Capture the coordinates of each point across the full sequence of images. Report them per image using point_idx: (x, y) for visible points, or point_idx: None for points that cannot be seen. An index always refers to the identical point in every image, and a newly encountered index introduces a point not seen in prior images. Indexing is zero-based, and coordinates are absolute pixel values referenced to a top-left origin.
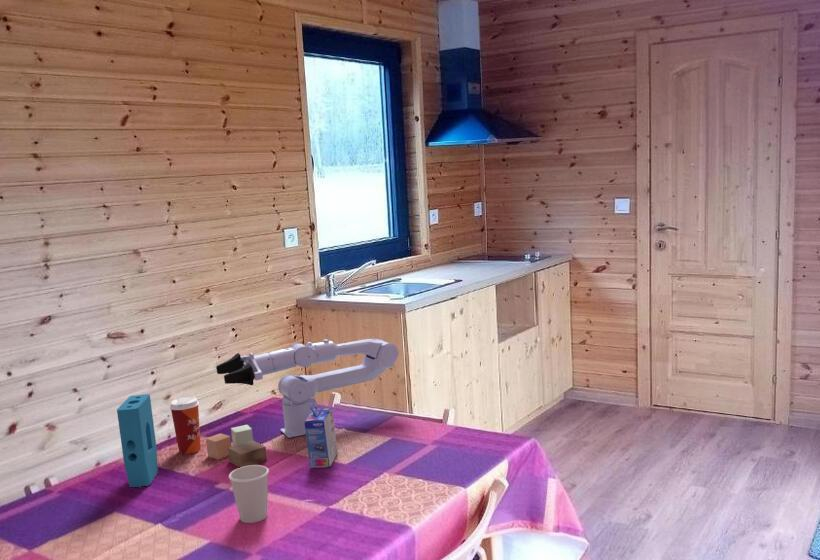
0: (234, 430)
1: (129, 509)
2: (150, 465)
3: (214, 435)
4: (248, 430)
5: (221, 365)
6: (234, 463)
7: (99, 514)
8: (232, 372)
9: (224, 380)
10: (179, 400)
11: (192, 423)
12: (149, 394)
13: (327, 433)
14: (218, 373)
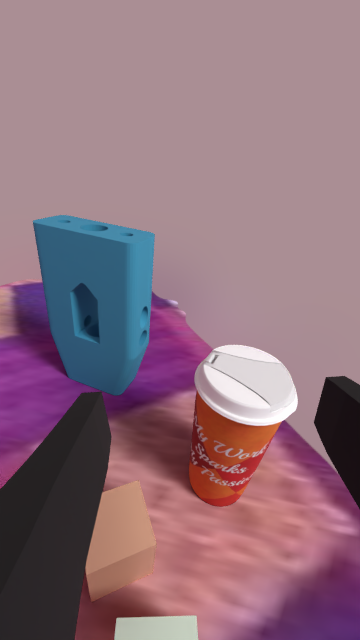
0: (150, 624)
1: (2, 345)
2: (77, 357)
3: (147, 514)
4: None
5: (354, 405)
6: None
7: (30, 324)
8: (61, 447)
9: (107, 422)
10: (258, 363)
11: (197, 430)
12: (130, 243)
13: None
14: (316, 425)
